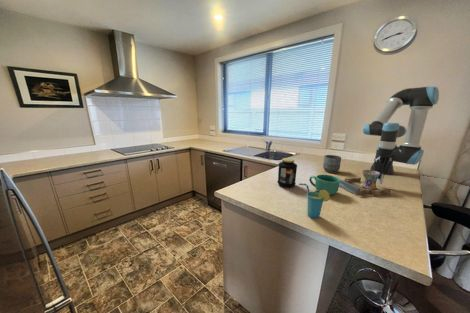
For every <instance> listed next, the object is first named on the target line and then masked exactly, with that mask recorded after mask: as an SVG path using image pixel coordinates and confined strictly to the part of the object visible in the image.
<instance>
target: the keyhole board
mask: <svg viewBox="0 0 470 313" xmlns="http://www.w3.org/2000/svg"><path fill="white" fill-rule="evenodd" d="M338 179H339V180H340V183H339V188H341V189H343V190H345V191H347V192H349V193H351V194H352V195H355V196H356V197H359V198H360V199H362V198H370V197H378V196H380V197H381V196H388V195H391V192H392V190H391V189H390V188H385V189H381V188H378V187H377V189H374V190H372V189H366V188H363V187H362V186H361V184H362V182H363V181H362V177H360V176H358V177H351V178H350V177H349V178H344V180H343V179H340V178H338Z"/></svg>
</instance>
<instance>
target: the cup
mask: <svg viewBox="0 0 470 313" xmlns="http://www.w3.org/2000/svg"><path fill="white" fill-rule="evenodd" d="M298 186H306V189H307V193H306V196H307V202H306V203H307V204H306V205H307V206H306V208H307V209H306V212H307V214H308V215H307V217H308V216H309V218H310V217H311V218H310V219H313V218H316V219H315V220H318V219H319V218H320V215H321V212H322V211H321V210H322V207H323V204H324V202H328V201H329V200H330V199H331V195H329V193H328V192H327V191H326V190H320V192H319V191H310V188H309V185H308V184H307V183H298Z"/></svg>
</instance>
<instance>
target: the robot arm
mask: <svg viewBox="0 0 470 313" xmlns="http://www.w3.org/2000/svg"><path fill="white" fill-rule="evenodd" d="M439 98H440V91H439V88H438V87H437V86H423V87H422V86H421V87H410V88H404V89H402V90H400V91H397V92H395V93H394V94H393V95H391V97H389V99H388V100H387V101H386V104H385V105H384V107H382V108H383V109H381V110H380V112H379V113H378V115H377V116H376V117H375V118H374V119H373V120H372V122H371V123H367V124H364V126H363V128H362V133H363V134H364V135H366V136H374V137H380V141H379V144H377V146H376V147H377V148H376V152H375V157H374V159H373V161H374V162H372V165H371V166H370V169H369V170H373V171H377V172H379V173H381V174H380V175H379V177H378V178H377V181H376V184H379V185H382V184H383V180H384V178H385V175H394V172H395V169H394V165H393V164H394V162H395V163H402V164H406V165H415V166H416V165H417V164H418V163H420V161H421V159H423V156H424V153H425V152H424V151H425V150H423V149H422V146H421V144H420V143H421V138H422V134H423V131H424V128H425V126H426V125H425V124H426V121H427V117H428V113H429V110H430V109H433V107H434V106H435V105H437V104H438V103H439V100H440V99H439ZM402 106H408V107H409V109H410V114H409V118H408V122H407V126H406V127H405V126H403V125H400V122H399V123H398V122H389V120H390V119H391V118H392V116H393V115H394V114H395V113H396V112H397V110H398V109H400V108H401V107H402ZM403 136H404V138H403V141H402V143H400V144H399V146H398V145H397V144H396V143H397V140H398V139H399V138H401V137H403ZM397 138H398V139H397Z"/></svg>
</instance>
